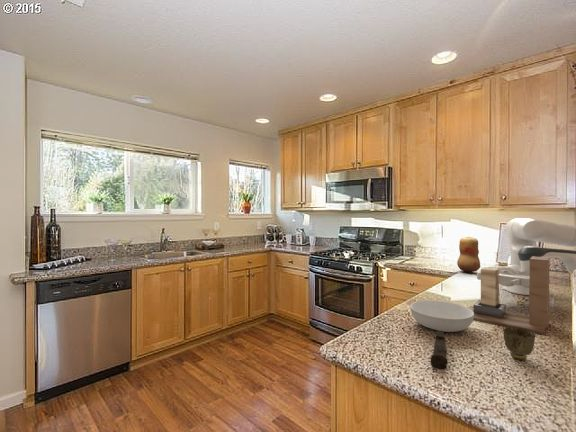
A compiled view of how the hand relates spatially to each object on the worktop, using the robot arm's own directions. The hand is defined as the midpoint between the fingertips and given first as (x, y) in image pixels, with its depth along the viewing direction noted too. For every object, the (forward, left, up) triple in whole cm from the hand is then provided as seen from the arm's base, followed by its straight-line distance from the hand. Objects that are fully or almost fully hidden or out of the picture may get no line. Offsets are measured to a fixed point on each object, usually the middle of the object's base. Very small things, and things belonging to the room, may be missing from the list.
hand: (498, 280), depth 130 cm
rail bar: (+12, -1, -11) cm, 17 cm away
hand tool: (+62, -5, -13) cm, 64 cm away
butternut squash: (-83, -31, -13) cm, 90 cm away
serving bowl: (+39, -11, -13) cm, 42 cm away
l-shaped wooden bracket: (+14, +4, -12) cm, 19 cm away
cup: (+49, +13, -13) cm, 52 cm away
